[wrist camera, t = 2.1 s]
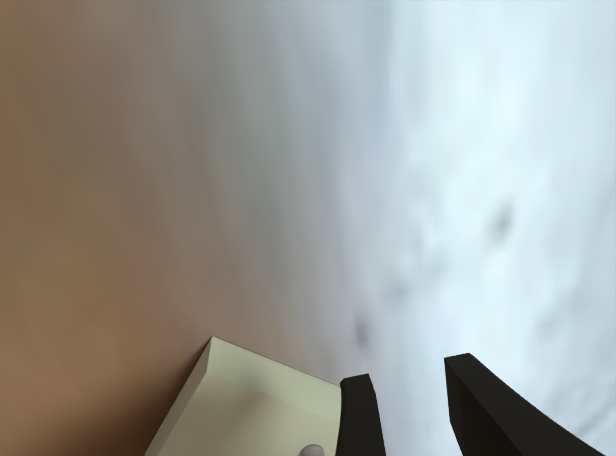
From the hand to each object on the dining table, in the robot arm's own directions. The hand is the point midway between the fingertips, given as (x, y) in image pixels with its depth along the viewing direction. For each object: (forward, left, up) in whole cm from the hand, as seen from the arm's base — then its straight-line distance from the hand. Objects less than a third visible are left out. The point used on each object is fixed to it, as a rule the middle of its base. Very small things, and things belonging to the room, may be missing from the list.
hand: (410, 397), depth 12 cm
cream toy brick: (-6, -9, -9) cm, 14 cm away
